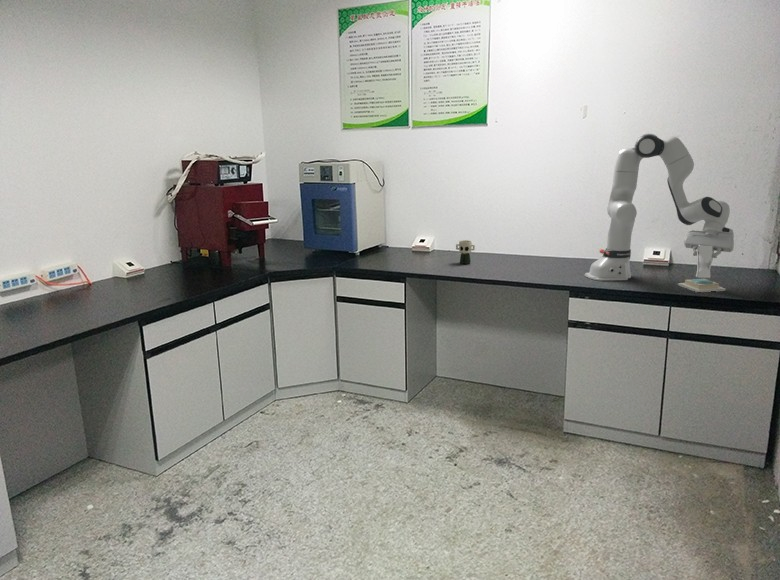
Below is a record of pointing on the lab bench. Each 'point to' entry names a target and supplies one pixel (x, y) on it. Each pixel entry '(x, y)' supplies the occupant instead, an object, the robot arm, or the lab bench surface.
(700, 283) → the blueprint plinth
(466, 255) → the character mug
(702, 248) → the beer glass
